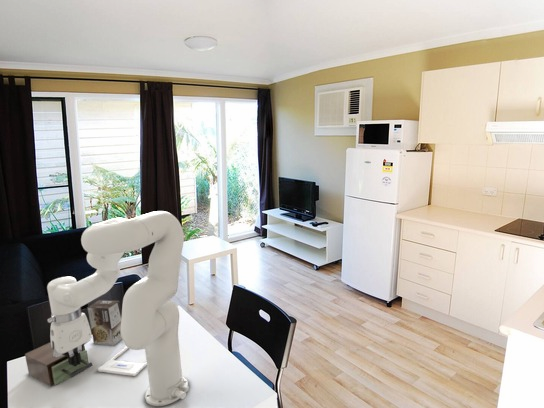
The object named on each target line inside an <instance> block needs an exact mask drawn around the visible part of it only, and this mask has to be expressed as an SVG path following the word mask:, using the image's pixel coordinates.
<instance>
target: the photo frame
mask: <svg viewBox="0 0 544 408" xmlns="http://www.w3.org/2000/svg"><path fill="white" fill-rule="evenodd" d="M127 350H129V348H128V347H127V346H126V345H125V346H124V347H123V348H122V349H121V350H119V351H118V352H117V353H115V355H113V356H112V357H111V358H109V359H108V360H107V361H106V362H105V363H103V364H102V365H101V366H99V367H98V368H97V372H100V373H107V374H114V375H115V374H116V375H122V376H123V375H124V376H131V377H132V376H133V377H136V376H137V375H138V374H139V373H140V372H141V371H142V370H143V369H144V368H145V367H147V361H146V360H145V362H144V363H142V362H134V361H126V360H117V358H118V357H119V356H121V355H122V354H123V353H125V352H126V351H127Z"/></svg>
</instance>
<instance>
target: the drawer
mask: <svg viewBox="0 0 544 408" xmlns="http://www.w3.org/2000/svg"><path fill="white" fill-rule="evenodd" d="M80 355H81V360H80V362H81V364H79V365H77V366H76V367H75V366H73V365H70V364H69V362H68V357H66V358H64V359H62V360H60V361H58V362H56V363H54V364H52V365H50V369H51V374H52V379H53V380H54V385H55V386H56V385H59V384H61V383H62V382H64V381H66V380H67V379H70V378H73V377H75V376H78V375H79V374H81V373H82V372H84V371H86V370H88V369H90V368H92V367H93V366H94V364H93V363H92V362H91V361H90V360H89V355H88V350H86V349H85V350H84V351H82V352H80Z"/></svg>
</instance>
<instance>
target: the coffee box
mask: <svg viewBox="0 0 544 408" xmlns="http://www.w3.org/2000/svg"><path fill="white" fill-rule="evenodd" d="M87 312H88V318H89V319H88V320H89V325H90V329H91V334H92V341H93V344H94V345H104V346H105V345H106V346H115V345H117V344H118V343H119V342H120V341H122V337H121V318H122V307H121V302H120V300H107V299H106V300H105V299H99V300H97V301H96V302H94V303H93V304H91V305H89V306H88V307H87Z"/></svg>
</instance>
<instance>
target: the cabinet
mask: <svg viewBox="0 0 544 408" xmlns="http://www.w3.org/2000/svg"><path fill="white" fill-rule="evenodd" d="M72 350H73V349H72ZM84 350H86V346H85V345H84V346H83V348H82V351H84ZM82 351H81V352H82ZM53 353H54V351H53V350H52V347H51V341H50V342H48V343H45V344H43V345H41V346H38V347H37V348H35V349H32V350H30V351H28V352H26V353H24V356H25V362H26V367H27V371H28V375H29V376H31V377H33V378H34V379H36V380H39V381H40V382H41V383H44V384H45V385H47V386H49V387H53V386H54V385H55V384H54V380H53V379H52V374H51V369H50V365H52V364H54V363H56V362H58V361H60V360H62V359H64V358H66V357H68V356H65V355H62V356H59V357H54V356H53Z"/></svg>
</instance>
